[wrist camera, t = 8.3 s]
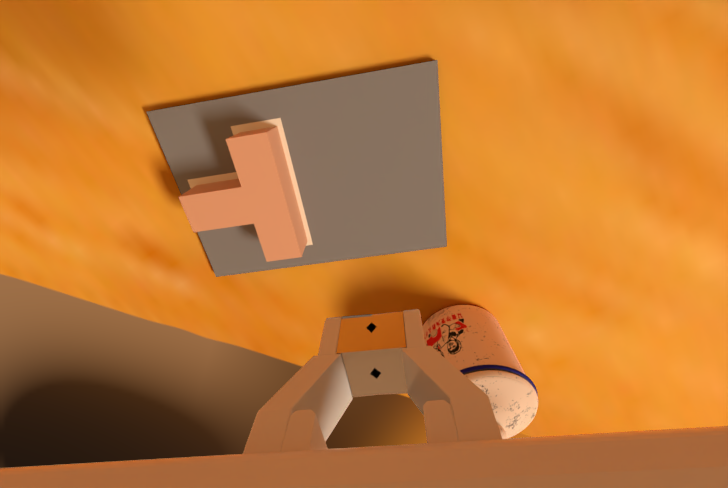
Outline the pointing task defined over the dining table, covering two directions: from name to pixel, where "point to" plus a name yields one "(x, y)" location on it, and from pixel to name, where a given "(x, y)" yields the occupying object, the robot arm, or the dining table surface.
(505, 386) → the teacup with lid
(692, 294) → the dining table surface
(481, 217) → the dining table surface
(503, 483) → the robot arm
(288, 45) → the dining table surface
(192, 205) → the t block
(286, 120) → the t mat
